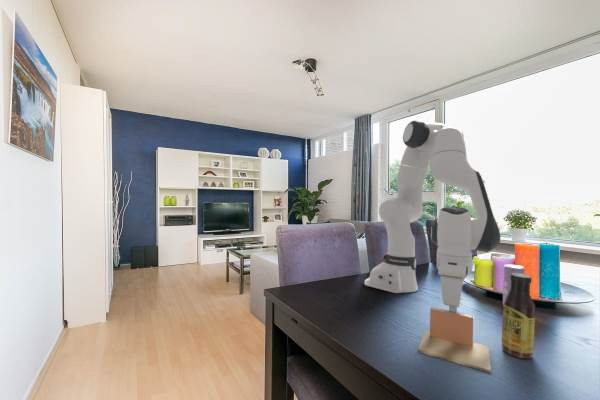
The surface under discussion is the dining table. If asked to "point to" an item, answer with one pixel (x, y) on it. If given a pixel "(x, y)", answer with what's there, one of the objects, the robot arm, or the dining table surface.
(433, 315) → the tile
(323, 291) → the dining table surface
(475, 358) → the oak board
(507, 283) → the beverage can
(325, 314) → the dining table surface
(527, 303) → the sauce bottle
